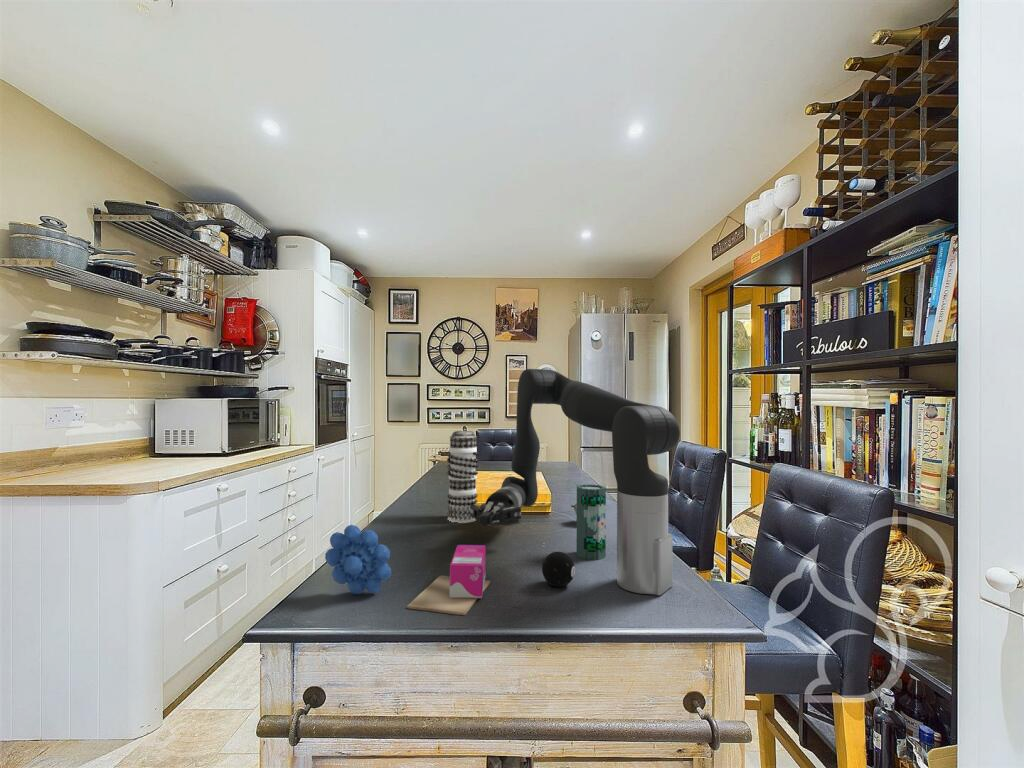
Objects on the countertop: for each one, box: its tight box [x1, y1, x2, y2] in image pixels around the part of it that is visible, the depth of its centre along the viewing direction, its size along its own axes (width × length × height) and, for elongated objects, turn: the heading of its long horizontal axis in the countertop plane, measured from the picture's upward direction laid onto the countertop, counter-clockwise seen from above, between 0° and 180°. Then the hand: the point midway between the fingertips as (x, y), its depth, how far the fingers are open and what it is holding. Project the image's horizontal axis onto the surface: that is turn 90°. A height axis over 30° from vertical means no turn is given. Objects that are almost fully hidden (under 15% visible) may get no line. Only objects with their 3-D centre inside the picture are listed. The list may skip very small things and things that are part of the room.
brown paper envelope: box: [406, 575, 491, 616], centre depth 84 cm, size 14×10×1 cm
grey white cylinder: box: [446, 430, 480, 524], centre depth 138 cm, size 9×9×25 cm
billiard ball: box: [541, 551, 576, 587], centre depth 89 cm, size 6×6×6 cm
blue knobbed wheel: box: [324, 524, 392, 596], centre depth 83 cm, size 12×7×12 cm, turn 89°
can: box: [575, 483, 607, 561], centre depth 107 cm, size 6×6×15 cm
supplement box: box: [449, 544, 487, 599], centre depth 87 cm, size 6×6×12 cm
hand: (484, 521), depth 104 cm, fingers closed
